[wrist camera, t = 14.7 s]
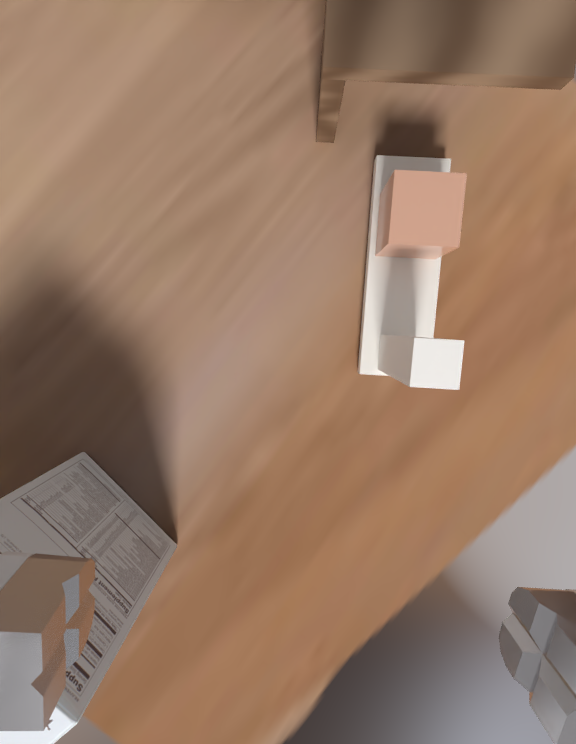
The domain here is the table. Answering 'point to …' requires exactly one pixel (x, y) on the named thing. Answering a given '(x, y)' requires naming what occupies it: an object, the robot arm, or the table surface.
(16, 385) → the table surface
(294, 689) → the table surface
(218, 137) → the table surface
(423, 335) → the white pillar stand
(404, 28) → the shelf
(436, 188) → the cube
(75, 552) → the supplement box
